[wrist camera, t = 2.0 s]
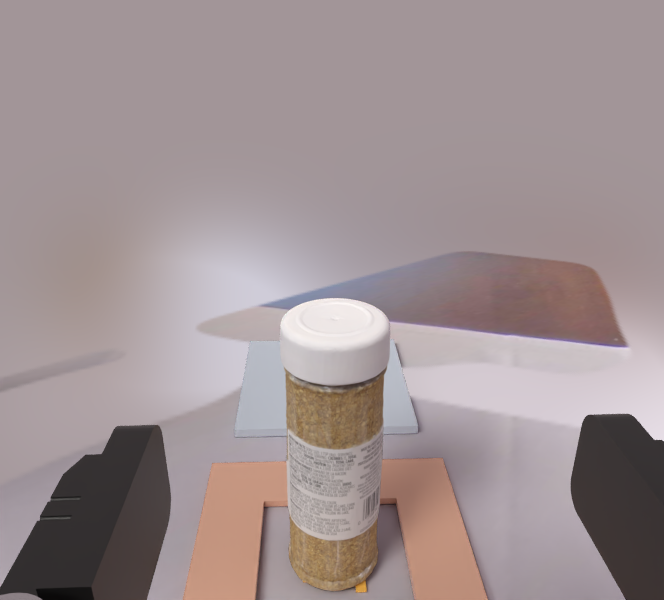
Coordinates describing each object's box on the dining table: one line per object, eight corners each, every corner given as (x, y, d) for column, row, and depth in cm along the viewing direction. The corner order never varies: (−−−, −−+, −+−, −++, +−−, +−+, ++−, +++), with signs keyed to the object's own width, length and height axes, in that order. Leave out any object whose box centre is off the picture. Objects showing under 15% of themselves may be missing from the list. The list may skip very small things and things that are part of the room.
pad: (234, 437, 39) (234, 429, 38) (250, 347, 50) (250, 341, 49) (417, 433, 39) (418, 426, 39) (393, 345, 50) (393, 339, 50)
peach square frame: (161, 708, 23) (160, 702, 23) (212, 468, 36) (212, 463, 36) (515, 695, 24) (516, 689, 24) (442, 463, 36) (442, 458, 36)
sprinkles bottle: (325, 510, 33) (326, 286, 27) (396, 551, 30) (412, 312, 25) (268, 563, 29) (255, 320, 24) (341, 614, 27) (346, 355, 21)
